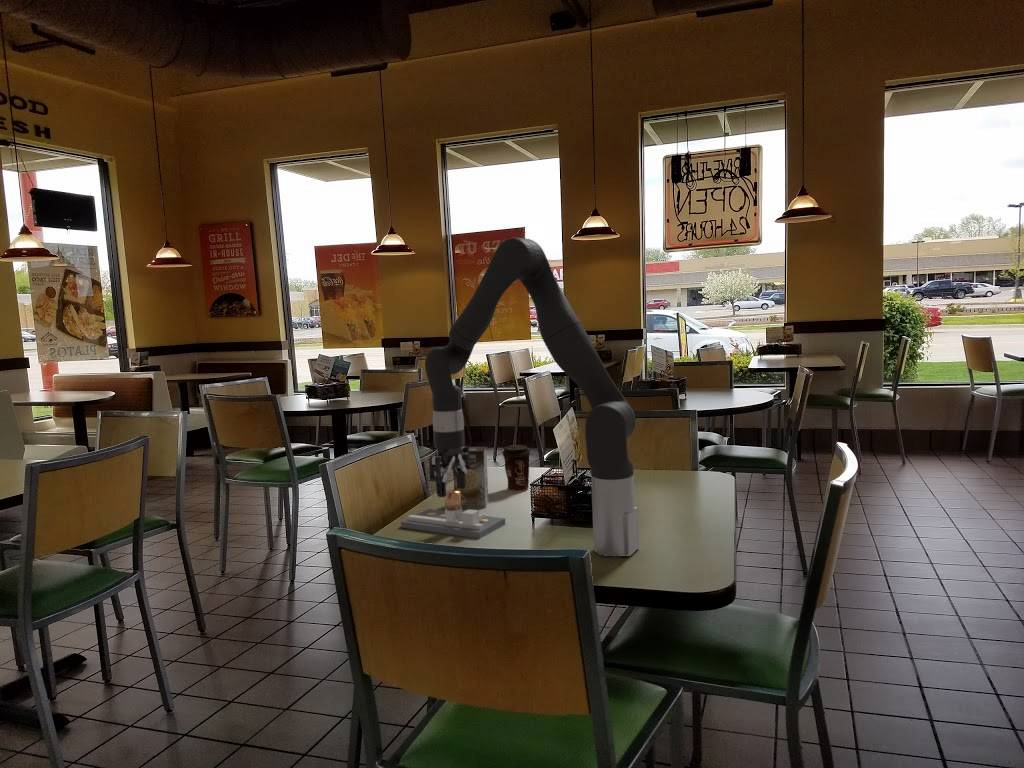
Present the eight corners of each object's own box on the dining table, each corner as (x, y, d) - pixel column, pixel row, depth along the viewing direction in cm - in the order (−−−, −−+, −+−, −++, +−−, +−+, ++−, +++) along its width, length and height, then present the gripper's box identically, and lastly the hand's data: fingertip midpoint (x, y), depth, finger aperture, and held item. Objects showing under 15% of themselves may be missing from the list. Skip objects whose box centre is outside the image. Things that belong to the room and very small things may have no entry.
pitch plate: (505, 524, 184) (504, 503, 184) (479, 538, 174) (478, 516, 173) (429, 514, 196) (427, 494, 196) (401, 527, 186) (399, 506, 185)
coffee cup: (499, 488, 220) (497, 446, 219) (523, 484, 224) (521, 442, 222) (511, 494, 212) (509, 451, 211) (536, 490, 216) (534, 447, 214)
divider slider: (474, 516, 184) (472, 486, 184) (456, 525, 178) (454, 493, 177) (461, 514, 186) (459, 484, 186) (443, 523, 180) (441, 492, 179)
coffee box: (453, 508, 201) (450, 451, 199) (457, 502, 207) (454, 446, 205) (486, 507, 200) (483, 450, 198) (489, 501, 206) (486, 445, 205)
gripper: (444, 434, 170) (447, 501, 172) (477, 423, 182) (480, 486, 184) (418, 432, 174) (422, 498, 175) (452, 422, 186) (455, 484, 188)
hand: (451, 492), depth 180 cm, fingers open, 8 cm apart
